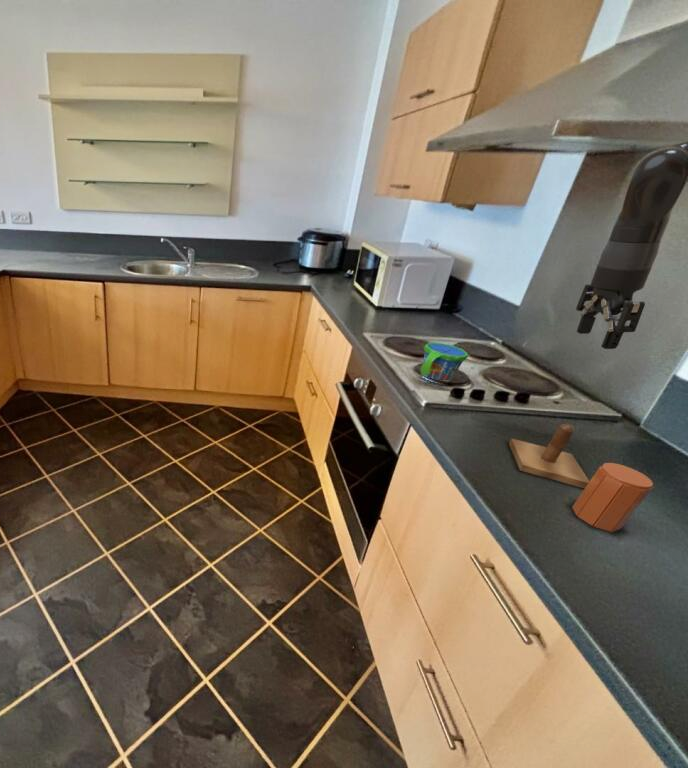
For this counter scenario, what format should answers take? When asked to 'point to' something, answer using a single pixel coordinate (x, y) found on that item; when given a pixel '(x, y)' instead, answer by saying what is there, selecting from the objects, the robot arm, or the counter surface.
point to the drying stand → (550, 458)
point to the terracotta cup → (612, 496)
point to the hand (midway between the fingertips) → (595, 340)
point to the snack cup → (441, 361)
